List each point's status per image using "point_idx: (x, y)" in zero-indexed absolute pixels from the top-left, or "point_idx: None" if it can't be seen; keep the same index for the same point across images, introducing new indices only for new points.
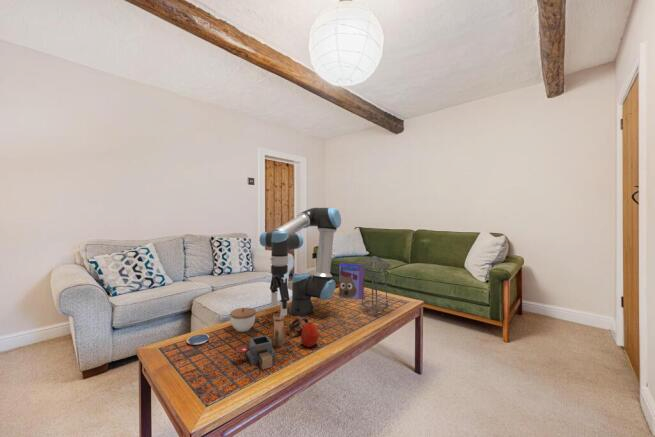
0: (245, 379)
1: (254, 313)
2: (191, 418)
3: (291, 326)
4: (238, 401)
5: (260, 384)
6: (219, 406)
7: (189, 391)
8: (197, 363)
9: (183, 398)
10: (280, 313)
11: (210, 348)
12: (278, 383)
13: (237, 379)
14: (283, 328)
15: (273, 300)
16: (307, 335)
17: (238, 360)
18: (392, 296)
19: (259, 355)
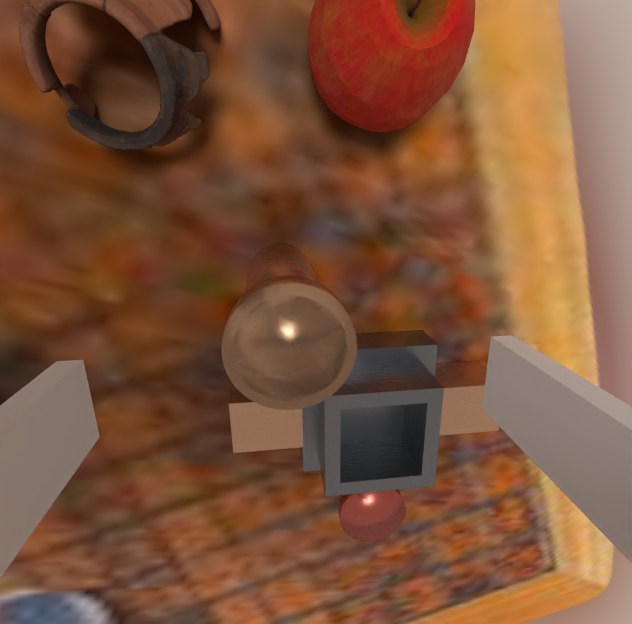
0: (495, 468)
1: None
2: (576, 596)
3: (155, 134)
4: None
5: None
6: (577, 541)
7: (457, 612)
8: (292, 609)
9: (481, 621)
10: (234, 318)
11: (176, 578)
12: (595, 364)
13: (479, 492)
14: (308, 271)
15: (44, 475)
16: (445, 91)
17: None
18: None
19: (440, 432)
